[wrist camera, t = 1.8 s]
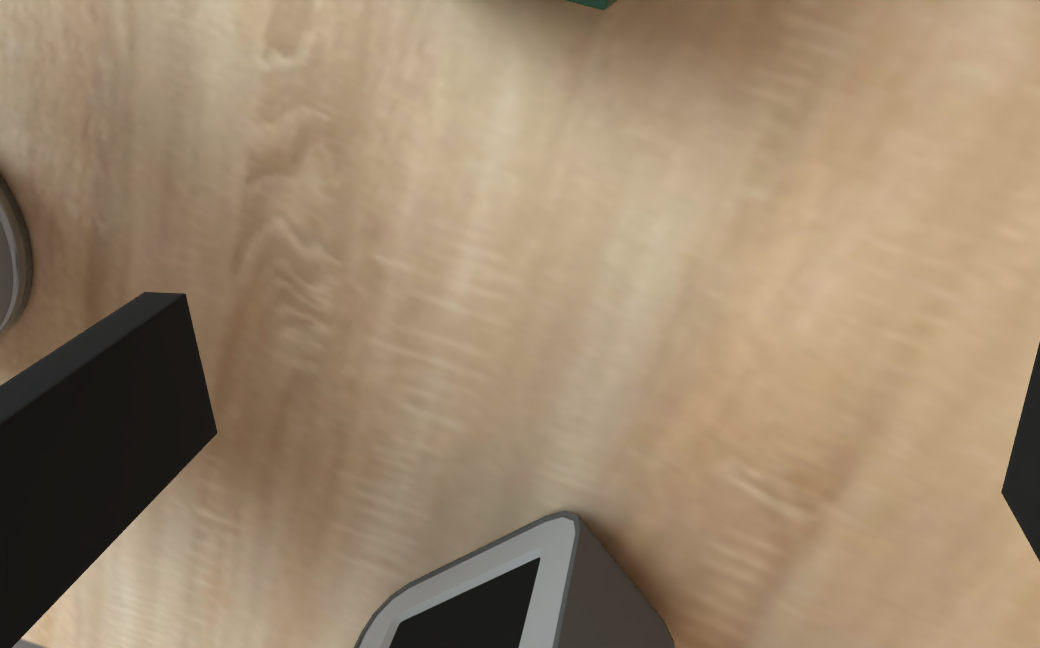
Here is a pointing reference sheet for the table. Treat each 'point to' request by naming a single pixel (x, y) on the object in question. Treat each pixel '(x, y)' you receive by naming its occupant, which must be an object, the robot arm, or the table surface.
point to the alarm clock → (523, 598)
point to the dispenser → (595, 3)
